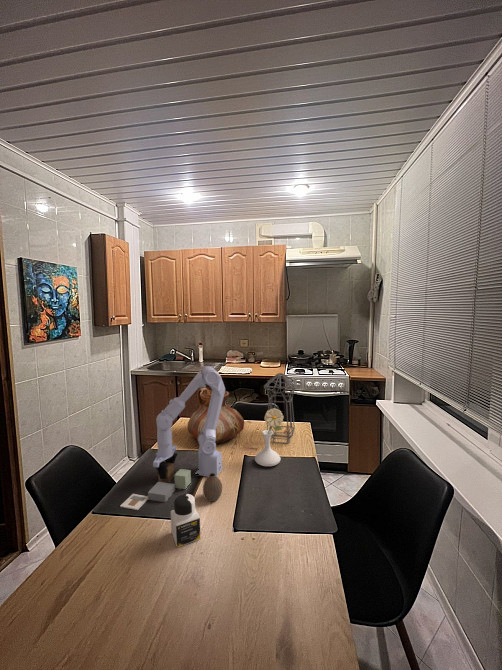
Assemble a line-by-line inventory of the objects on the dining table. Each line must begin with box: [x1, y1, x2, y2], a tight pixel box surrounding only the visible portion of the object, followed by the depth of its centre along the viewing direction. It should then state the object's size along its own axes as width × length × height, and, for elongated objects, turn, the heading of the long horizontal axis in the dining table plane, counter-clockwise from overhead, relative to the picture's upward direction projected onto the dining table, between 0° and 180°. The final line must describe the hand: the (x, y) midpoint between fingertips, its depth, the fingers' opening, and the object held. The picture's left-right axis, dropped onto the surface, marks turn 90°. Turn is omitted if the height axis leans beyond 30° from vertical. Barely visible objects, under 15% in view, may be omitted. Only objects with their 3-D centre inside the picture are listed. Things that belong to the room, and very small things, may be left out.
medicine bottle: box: [170, 493, 201, 548], centre depth 90 cm, size 7×7×12 cm
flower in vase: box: [254, 407, 284, 467], centre depth 132 cm, size 13×11×25 cm
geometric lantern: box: [263, 372, 297, 444], centre depth 155 cm, size 16×16×35 cm
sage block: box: [174, 468, 192, 490], centre depth 116 cm, size 4×4×6 cm
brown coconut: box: [202, 473, 223, 502], centre depth 109 cm, size 7×7×9 cm
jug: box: [187, 387, 245, 444], centre depth 160 cm, size 30×30×25 cm
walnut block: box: [157, 461, 175, 483], centre depth 121 cm, size 4×4×6 cm
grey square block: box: [147, 481, 176, 503], centre depth 111 cm, size 7×7×3 cm
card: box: [119, 493, 149, 511], centre depth 107 cm, size 7×7×1 cm
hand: (166, 475), depth 122 cm, fingers closed on walnut block, 4 cm apart
